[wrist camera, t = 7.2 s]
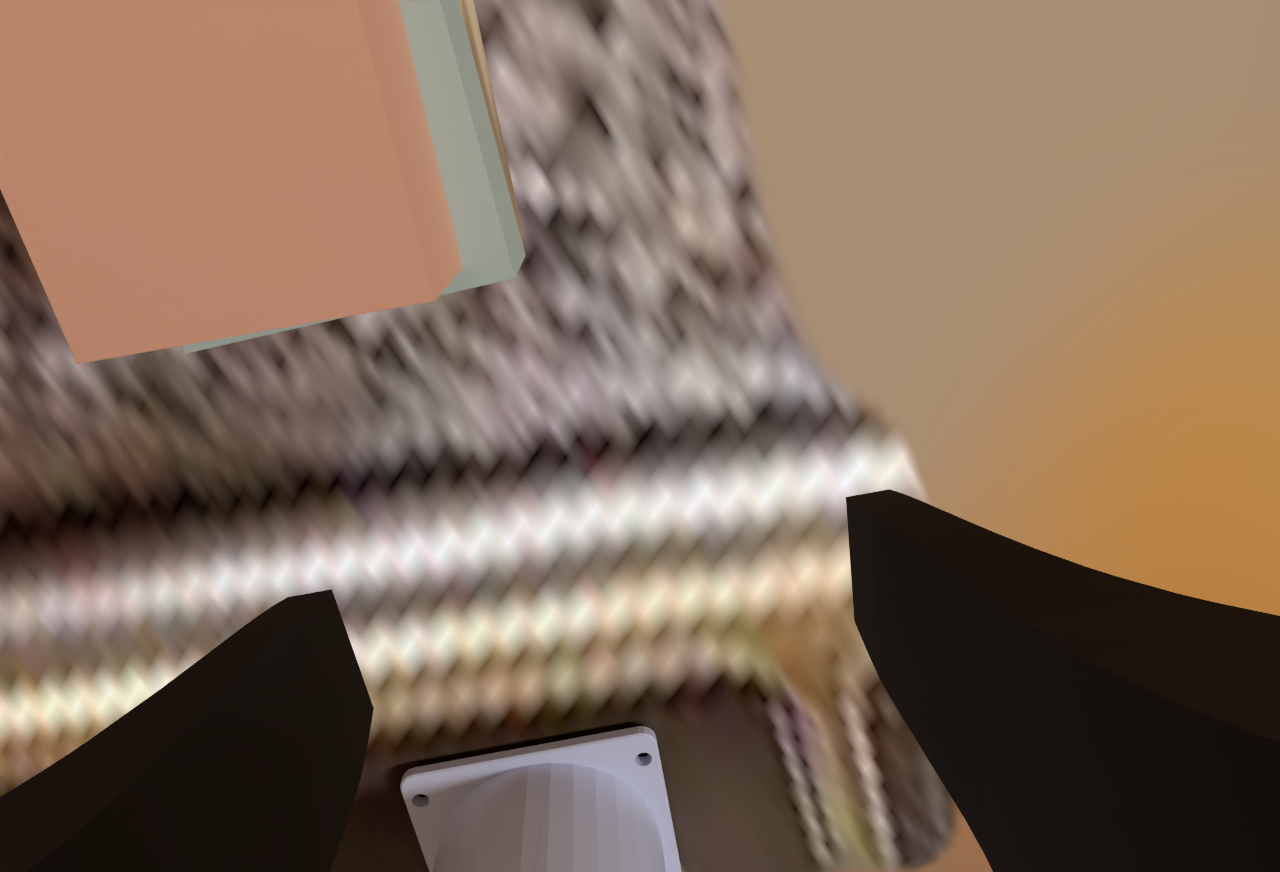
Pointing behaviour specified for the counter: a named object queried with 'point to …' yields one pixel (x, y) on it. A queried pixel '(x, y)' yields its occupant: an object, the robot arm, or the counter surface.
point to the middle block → (454, 152)
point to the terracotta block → (218, 166)
